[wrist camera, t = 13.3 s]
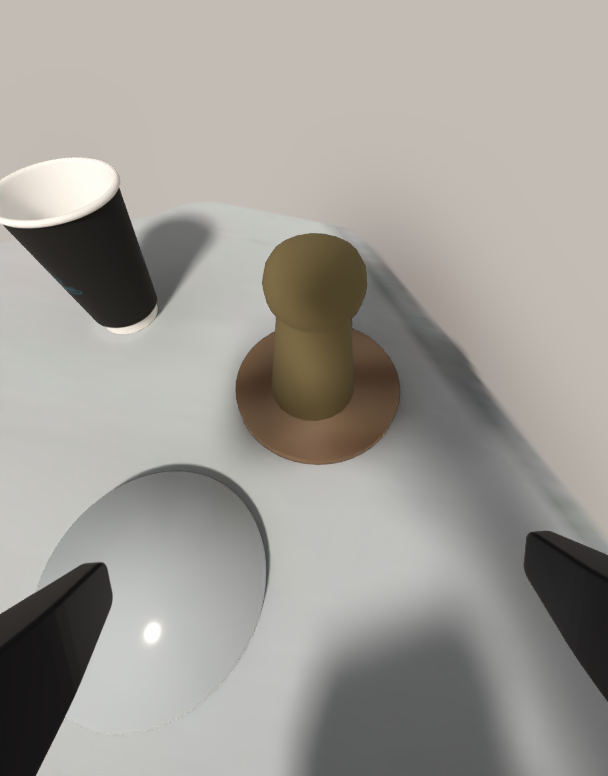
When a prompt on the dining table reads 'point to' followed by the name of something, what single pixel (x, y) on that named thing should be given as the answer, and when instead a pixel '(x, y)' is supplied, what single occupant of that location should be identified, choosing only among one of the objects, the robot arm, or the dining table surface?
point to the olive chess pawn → (313, 322)
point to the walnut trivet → (329, 436)
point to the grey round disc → (164, 597)
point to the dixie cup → (82, 237)
